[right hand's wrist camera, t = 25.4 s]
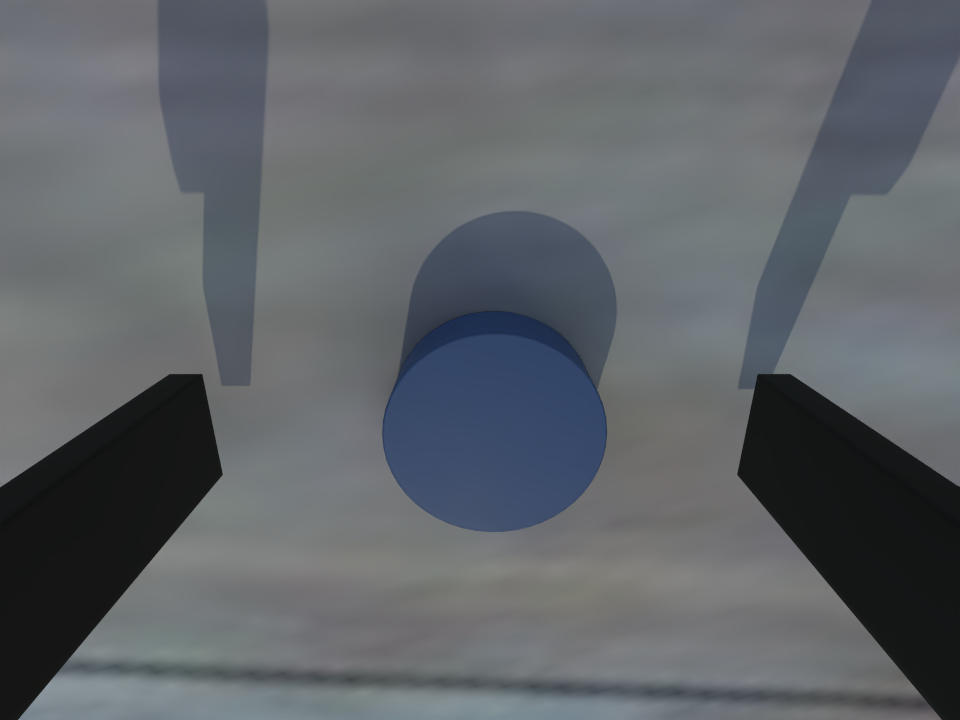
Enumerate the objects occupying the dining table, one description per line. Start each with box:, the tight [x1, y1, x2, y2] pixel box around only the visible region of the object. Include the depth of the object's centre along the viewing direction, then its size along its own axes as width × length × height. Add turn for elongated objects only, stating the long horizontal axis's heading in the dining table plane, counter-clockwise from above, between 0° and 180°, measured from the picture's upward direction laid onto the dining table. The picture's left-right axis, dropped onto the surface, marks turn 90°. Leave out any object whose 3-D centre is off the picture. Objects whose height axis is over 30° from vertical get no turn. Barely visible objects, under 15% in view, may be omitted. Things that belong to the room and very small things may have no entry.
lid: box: [382, 311, 607, 532], centre depth 13 cm, size 5×5×2 cm
